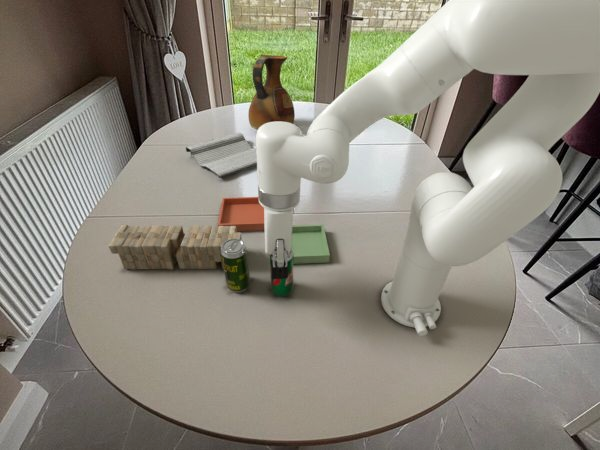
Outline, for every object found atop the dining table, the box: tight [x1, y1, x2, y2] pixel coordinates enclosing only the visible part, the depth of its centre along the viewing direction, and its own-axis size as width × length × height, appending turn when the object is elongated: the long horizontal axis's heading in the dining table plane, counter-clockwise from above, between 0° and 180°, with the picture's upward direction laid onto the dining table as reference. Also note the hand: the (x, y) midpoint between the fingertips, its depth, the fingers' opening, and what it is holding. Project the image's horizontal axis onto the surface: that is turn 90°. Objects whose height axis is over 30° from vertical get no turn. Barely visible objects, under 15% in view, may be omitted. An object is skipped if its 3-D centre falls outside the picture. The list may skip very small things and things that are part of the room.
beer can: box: [221, 238, 251, 293], centre depth 73 cm, size 5×5×12 cm
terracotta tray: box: [217, 196, 265, 232], centre depth 96 cm, size 13×13×2 cm
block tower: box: [108, 224, 242, 270], centre depth 81 cm, size 8×8×29 cm
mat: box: [185, 132, 257, 179], centre depth 123 cm, size 23×24×5 cm
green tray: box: [291, 224, 331, 265], centre depth 87 cm, size 12×12×2 cm
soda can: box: [268, 247, 294, 297], centre depth 72 cm, size 5×5×12 cm
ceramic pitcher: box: [248, 54, 296, 131], centre depth 138 cm, size 20×20×30 cm
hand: (279, 260), depth 70 cm, fingers open, 9 cm apart
